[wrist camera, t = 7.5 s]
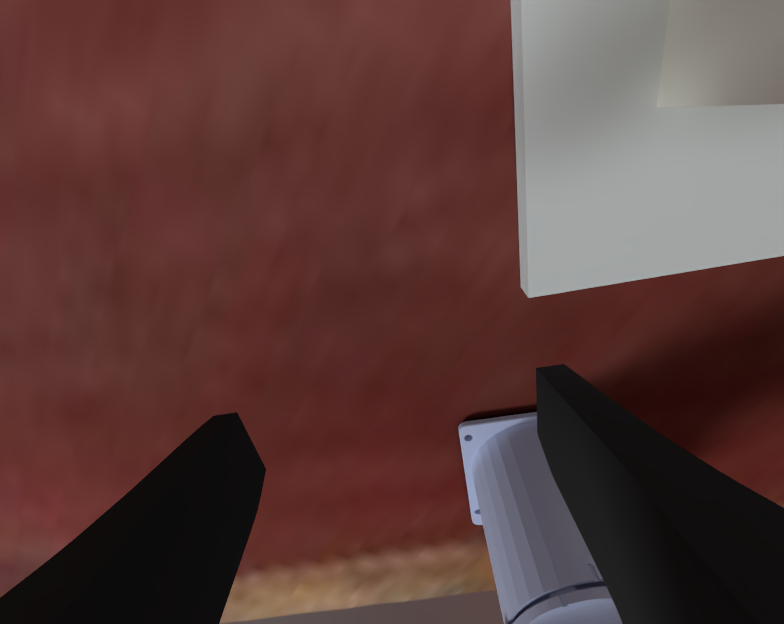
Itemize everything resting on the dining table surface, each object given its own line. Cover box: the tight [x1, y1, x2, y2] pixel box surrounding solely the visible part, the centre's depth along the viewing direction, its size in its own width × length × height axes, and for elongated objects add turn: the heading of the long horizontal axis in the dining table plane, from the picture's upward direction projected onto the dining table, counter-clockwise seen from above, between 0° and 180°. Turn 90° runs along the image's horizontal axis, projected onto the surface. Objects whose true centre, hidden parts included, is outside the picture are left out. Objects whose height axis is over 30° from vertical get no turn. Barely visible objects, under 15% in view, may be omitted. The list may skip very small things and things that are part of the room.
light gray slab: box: [511, 0, 784, 298], centre depth 11 cm, size 18×14×6 cm
